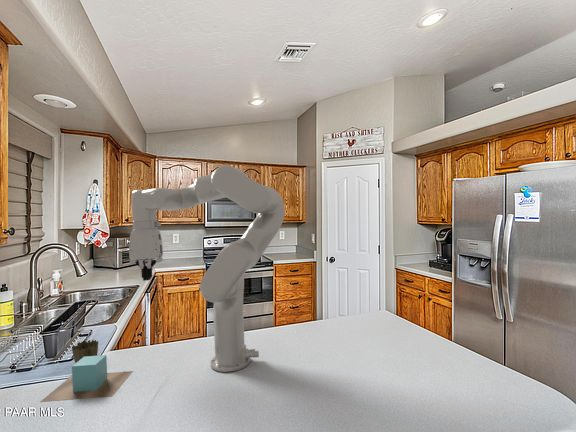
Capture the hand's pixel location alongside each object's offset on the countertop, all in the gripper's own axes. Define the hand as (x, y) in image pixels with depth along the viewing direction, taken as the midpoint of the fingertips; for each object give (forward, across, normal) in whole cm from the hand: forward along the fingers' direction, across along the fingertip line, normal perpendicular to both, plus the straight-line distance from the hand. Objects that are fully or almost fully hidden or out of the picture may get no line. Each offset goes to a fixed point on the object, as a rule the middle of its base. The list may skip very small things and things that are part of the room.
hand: (147, 279), depth 112 cm
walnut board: (+27, +10, +19) cm, 35 cm away
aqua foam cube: (+26, +10, +19) cm, 33 cm away
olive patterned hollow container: (+27, +19, +4) cm, 34 cm away
